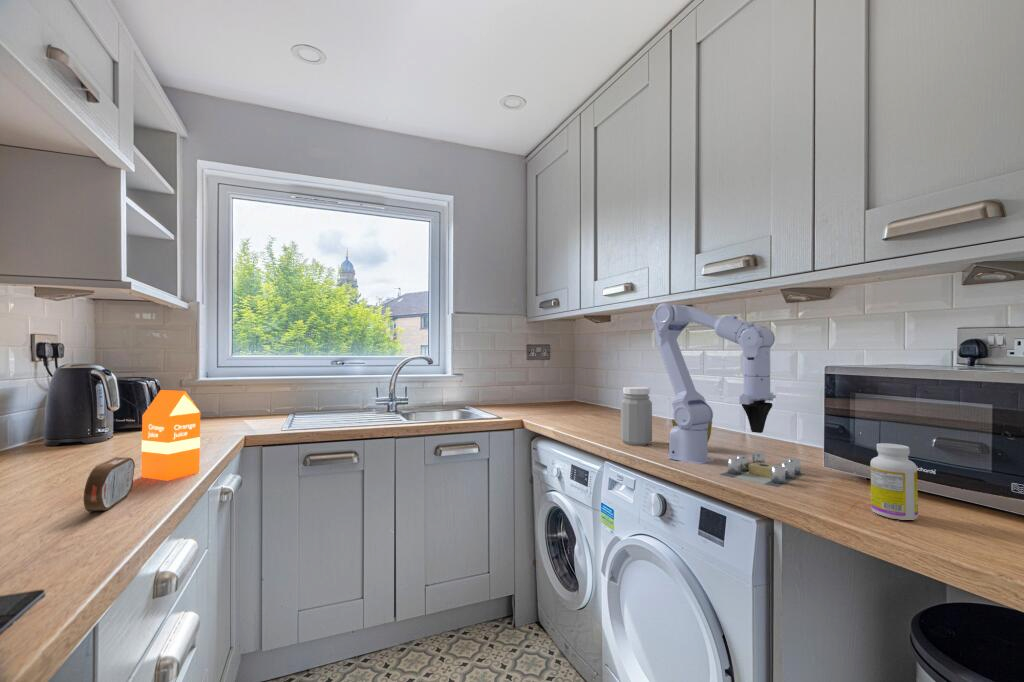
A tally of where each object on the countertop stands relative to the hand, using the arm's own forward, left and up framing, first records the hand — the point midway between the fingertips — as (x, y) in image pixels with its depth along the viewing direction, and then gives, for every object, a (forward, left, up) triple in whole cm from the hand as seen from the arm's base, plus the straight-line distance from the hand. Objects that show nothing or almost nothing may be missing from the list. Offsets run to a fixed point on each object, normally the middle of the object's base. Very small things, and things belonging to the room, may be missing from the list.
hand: (757, 432), depth 112 cm
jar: (-41, +10, -11) cm, 44 cm away
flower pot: (-25, +16, -11) cm, 32 cm away
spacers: (+1, +2, -10) cm, 10 cm away
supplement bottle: (+28, -9, -11) cm, 31 cm away
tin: (-70, -119, -11) cm, 139 cm away
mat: (+1, +1, -10) cm, 10 cm away
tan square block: (+1, +1, -10) cm, 10 cm away
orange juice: (-89, -109, -11) cm, 141 cm away
